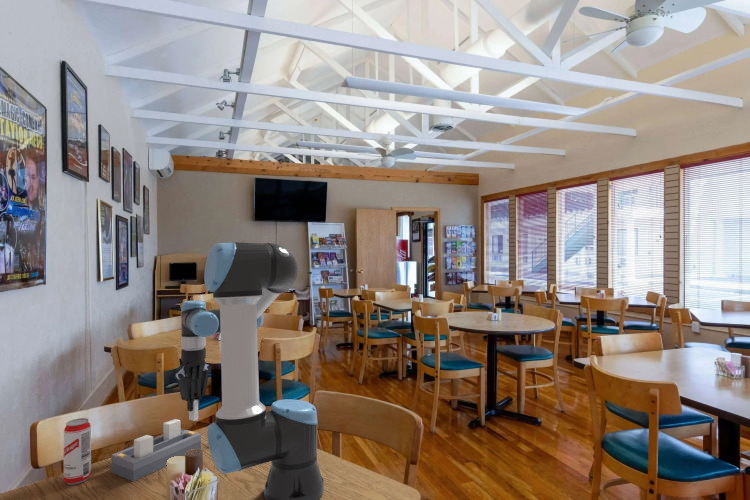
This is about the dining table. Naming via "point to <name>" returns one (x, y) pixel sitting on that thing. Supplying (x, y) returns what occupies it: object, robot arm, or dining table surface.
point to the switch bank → (153, 455)
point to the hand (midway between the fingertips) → (193, 419)
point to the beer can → (77, 451)
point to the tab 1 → (143, 446)
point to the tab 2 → (171, 429)
